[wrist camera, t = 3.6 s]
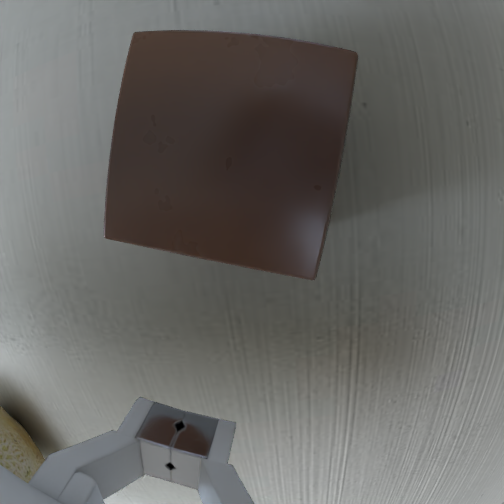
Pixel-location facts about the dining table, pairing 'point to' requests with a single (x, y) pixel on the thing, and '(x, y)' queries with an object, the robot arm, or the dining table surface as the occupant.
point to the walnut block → (229, 147)
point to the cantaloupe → (18, 448)
